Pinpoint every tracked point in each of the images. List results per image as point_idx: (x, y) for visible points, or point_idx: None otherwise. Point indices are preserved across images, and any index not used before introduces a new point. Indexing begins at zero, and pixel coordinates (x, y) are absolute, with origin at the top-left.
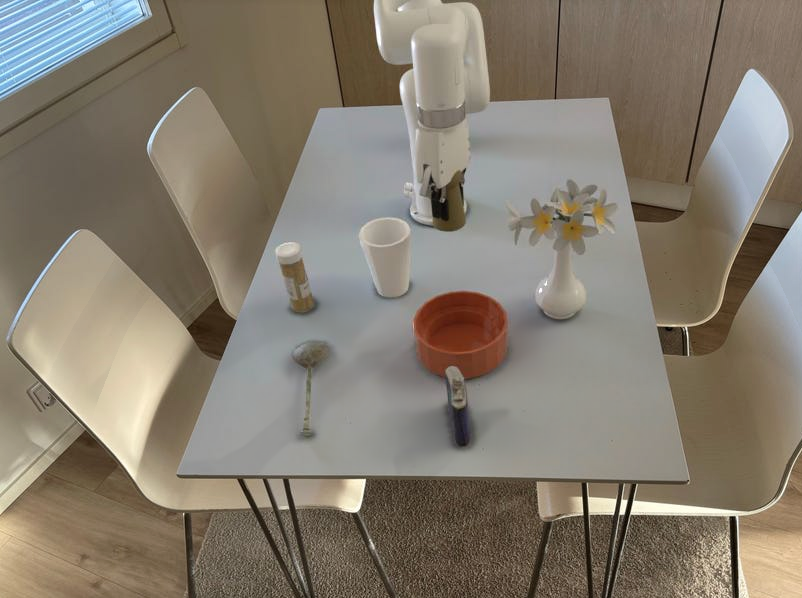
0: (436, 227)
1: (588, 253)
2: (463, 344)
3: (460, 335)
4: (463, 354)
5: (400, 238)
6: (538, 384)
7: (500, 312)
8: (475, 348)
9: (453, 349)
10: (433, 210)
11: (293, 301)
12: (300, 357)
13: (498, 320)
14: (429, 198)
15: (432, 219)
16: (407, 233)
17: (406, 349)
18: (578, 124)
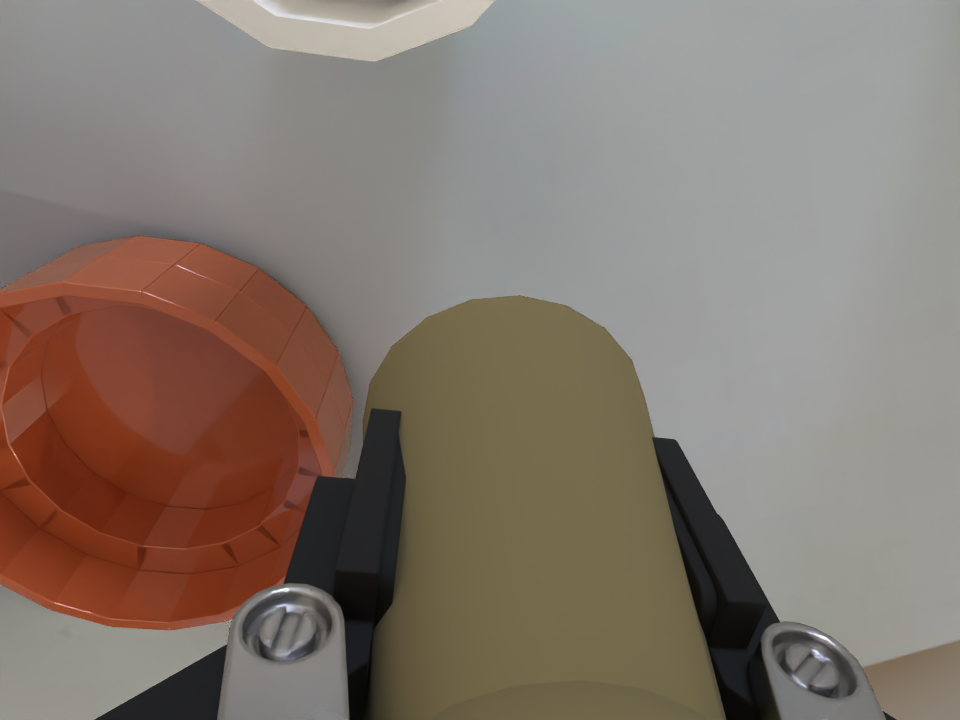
0: (371, 388)
1: (830, 575)
2: (189, 408)
3: (225, 380)
4: None
5: None
6: (179, 632)
7: (286, 563)
8: (194, 450)
9: (145, 387)
10: (307, 510)
11: None
12: None
13: (297, 523)
14: (247, 610)
15: (429, 339)
16: (397, 34)
17: (48, 207)
18: None
